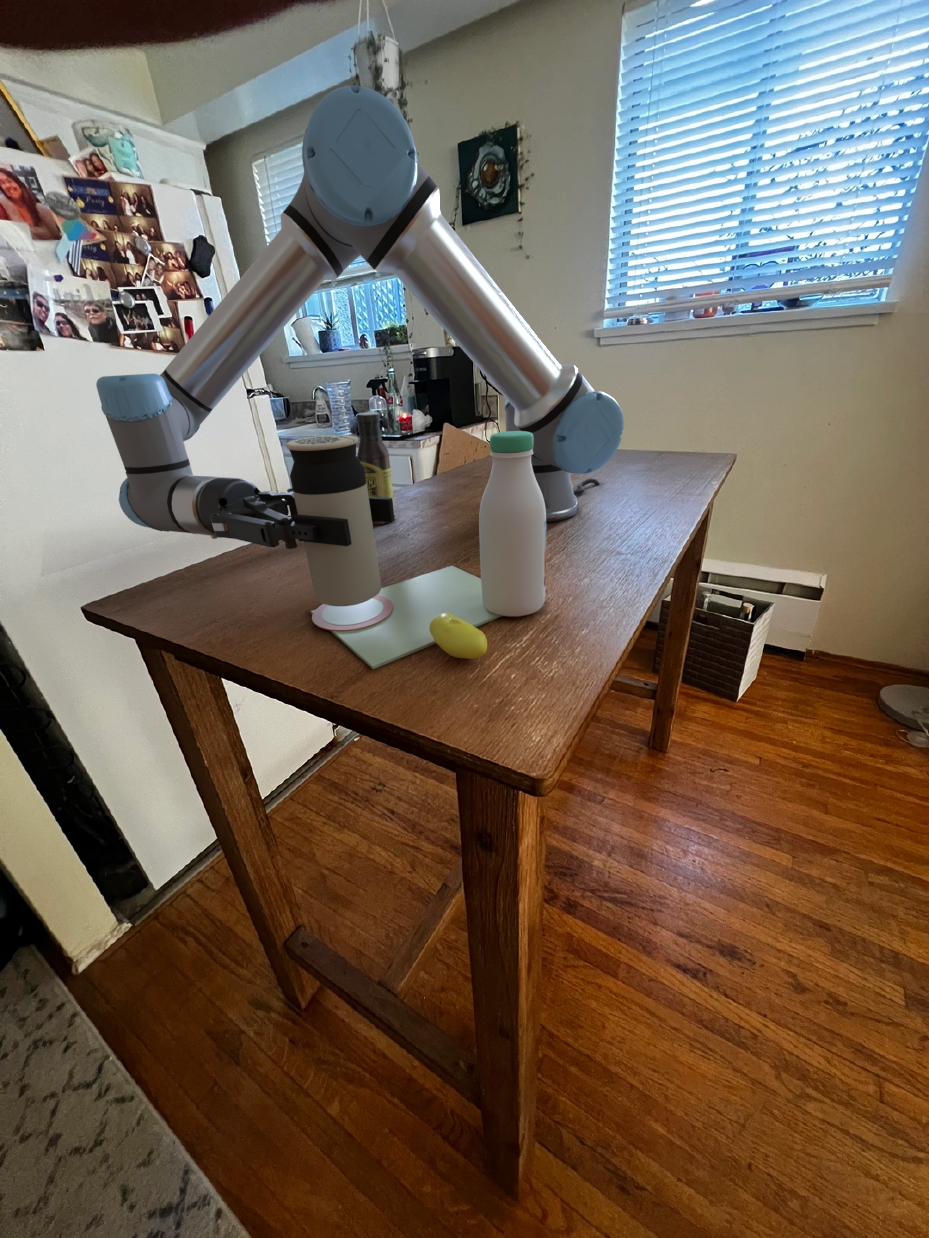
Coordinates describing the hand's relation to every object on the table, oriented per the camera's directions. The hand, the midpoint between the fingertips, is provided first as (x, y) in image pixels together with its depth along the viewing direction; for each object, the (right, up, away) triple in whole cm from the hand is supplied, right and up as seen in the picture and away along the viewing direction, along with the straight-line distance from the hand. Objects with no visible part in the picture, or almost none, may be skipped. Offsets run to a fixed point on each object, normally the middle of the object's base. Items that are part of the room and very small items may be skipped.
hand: (370, 520), depth 55 cm
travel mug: (-4, -8, +6) cm, 11 cm away
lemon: (+10, -14, -2) cm, 17 cm away
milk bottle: (+16, -9, +7) cm, 20 cm away
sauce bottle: (-6, +8, +44) cm, 45 cm away
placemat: (+5, -10, +8) cm, 13 cm away
